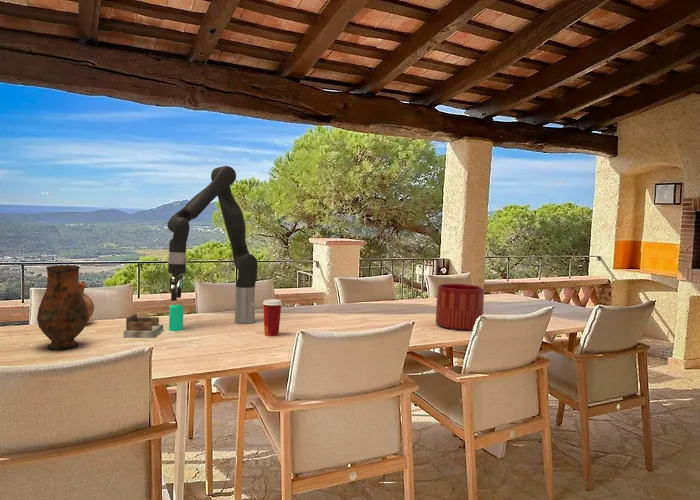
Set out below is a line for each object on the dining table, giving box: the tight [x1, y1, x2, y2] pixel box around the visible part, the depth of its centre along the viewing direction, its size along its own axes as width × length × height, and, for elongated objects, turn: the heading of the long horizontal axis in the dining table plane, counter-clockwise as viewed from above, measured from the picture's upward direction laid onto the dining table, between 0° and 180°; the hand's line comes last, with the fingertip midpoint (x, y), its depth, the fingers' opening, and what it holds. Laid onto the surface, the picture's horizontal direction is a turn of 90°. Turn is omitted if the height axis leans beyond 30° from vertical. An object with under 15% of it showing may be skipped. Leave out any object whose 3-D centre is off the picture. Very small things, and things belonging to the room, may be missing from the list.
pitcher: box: [36, 264, 89, 351], centre depth 187 cm, size 17×21×30 cm
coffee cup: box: [262, 298, 283, 337], centre depth 217 cm, size 8×8×15 cm
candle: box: [168, 302, 184, 332], centre depth 220 cm, size 6×6×12 cm
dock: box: [123, 313, 164, 339], centre depth 210 cm, size 12×14×8 cm
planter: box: [435, 283, 485, 331], centre depth 250 cm, size 23×23×20 cm
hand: (176, 299), depth 220 cm, fingers open, 8 cm apart
